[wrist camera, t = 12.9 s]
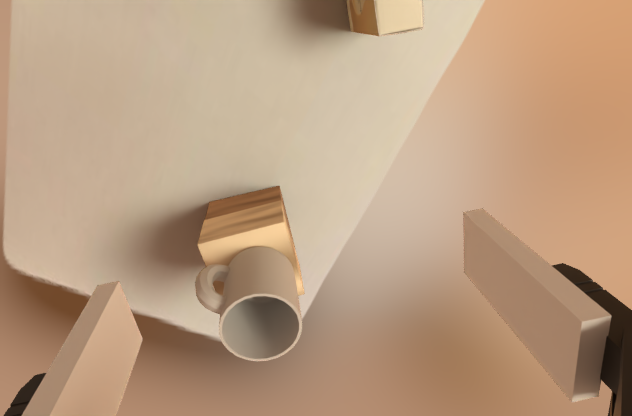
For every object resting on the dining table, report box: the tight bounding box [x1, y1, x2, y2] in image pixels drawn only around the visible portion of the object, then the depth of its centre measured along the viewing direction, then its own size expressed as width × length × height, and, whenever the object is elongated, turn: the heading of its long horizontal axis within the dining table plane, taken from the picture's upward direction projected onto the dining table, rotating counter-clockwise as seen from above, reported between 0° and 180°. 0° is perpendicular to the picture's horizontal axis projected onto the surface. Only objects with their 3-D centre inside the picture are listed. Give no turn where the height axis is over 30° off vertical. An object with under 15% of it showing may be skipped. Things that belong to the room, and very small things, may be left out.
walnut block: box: [205, 186, 295, 248], centre depth 54 cm, size 9×9×6 cm
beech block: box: [197, 200, 305, 296], centre depth 49 cm, size 9×9×6 cm
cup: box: [195, 247, 302, 361], centre depth 42 cm, size 7×10×9 cm
